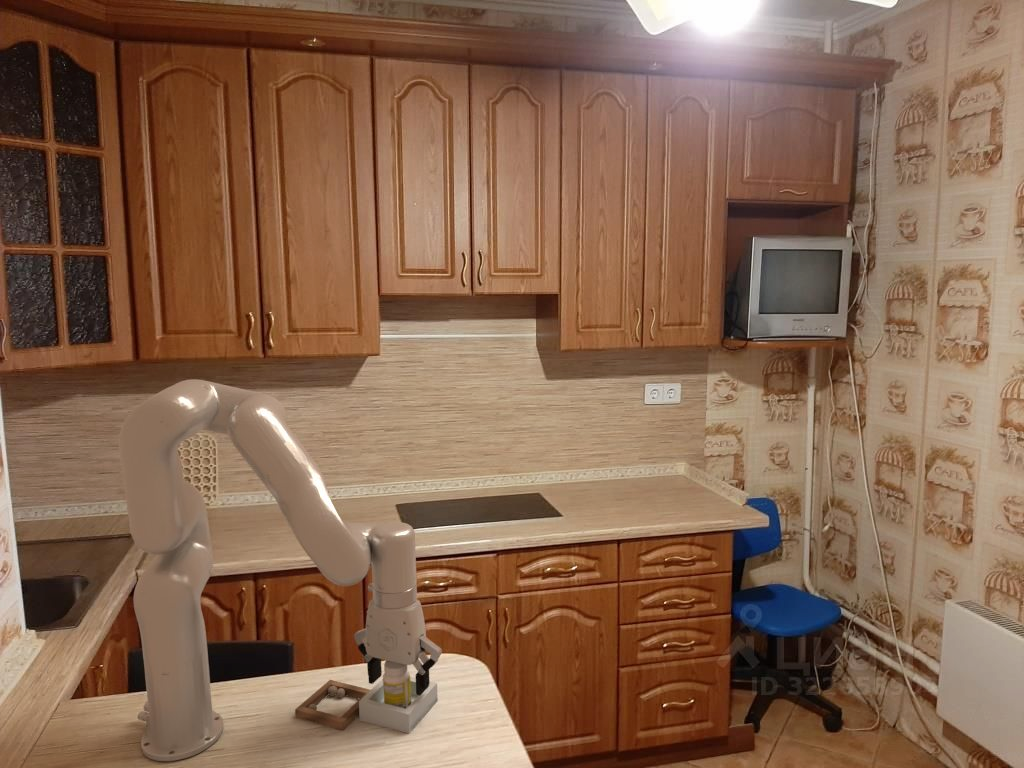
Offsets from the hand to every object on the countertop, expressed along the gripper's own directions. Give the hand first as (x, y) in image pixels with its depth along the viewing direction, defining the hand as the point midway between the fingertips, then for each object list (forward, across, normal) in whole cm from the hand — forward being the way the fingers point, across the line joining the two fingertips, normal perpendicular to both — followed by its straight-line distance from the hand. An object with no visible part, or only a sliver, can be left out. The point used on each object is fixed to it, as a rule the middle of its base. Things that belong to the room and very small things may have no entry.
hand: (398, 685), depth 126 cm
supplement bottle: (+4, 0, 0) cm, 4 cm away
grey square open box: (+5, 0, 0) cm, 5 cm away
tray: (+5, -11, -4) cm, 13 cm away
